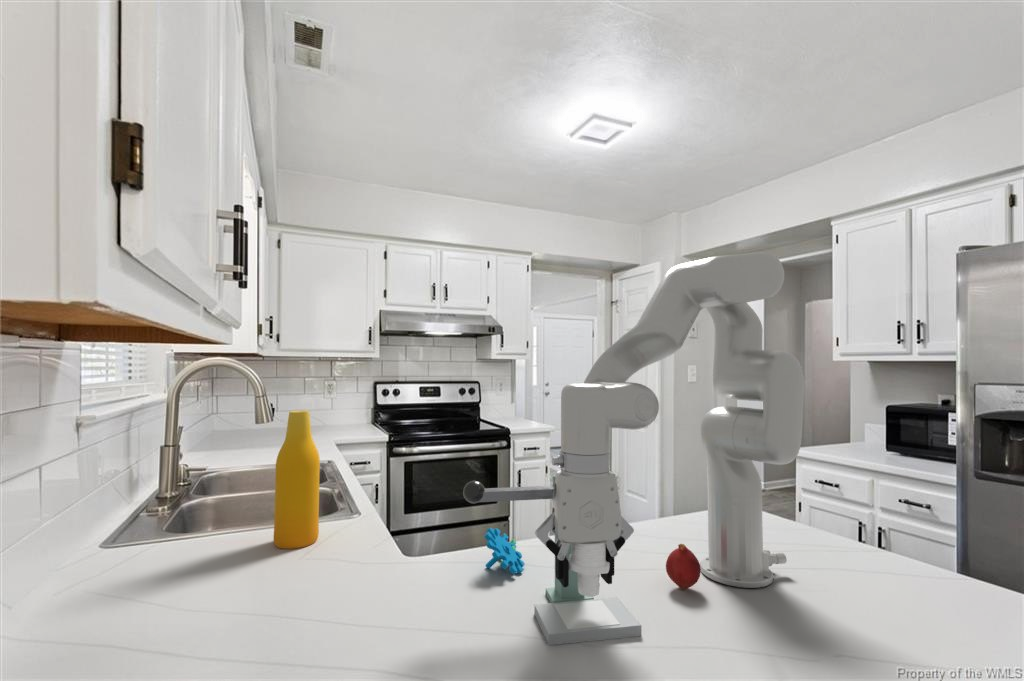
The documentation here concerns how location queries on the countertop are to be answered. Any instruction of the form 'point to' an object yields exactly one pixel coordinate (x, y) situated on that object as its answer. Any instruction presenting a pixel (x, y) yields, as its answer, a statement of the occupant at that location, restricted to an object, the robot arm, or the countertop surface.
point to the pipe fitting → (588, 566)
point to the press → (582, 614)
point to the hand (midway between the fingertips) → (584, 580)
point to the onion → (683, 567)
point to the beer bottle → (297, 486)
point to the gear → (503, 551)
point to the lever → (505, 493)
